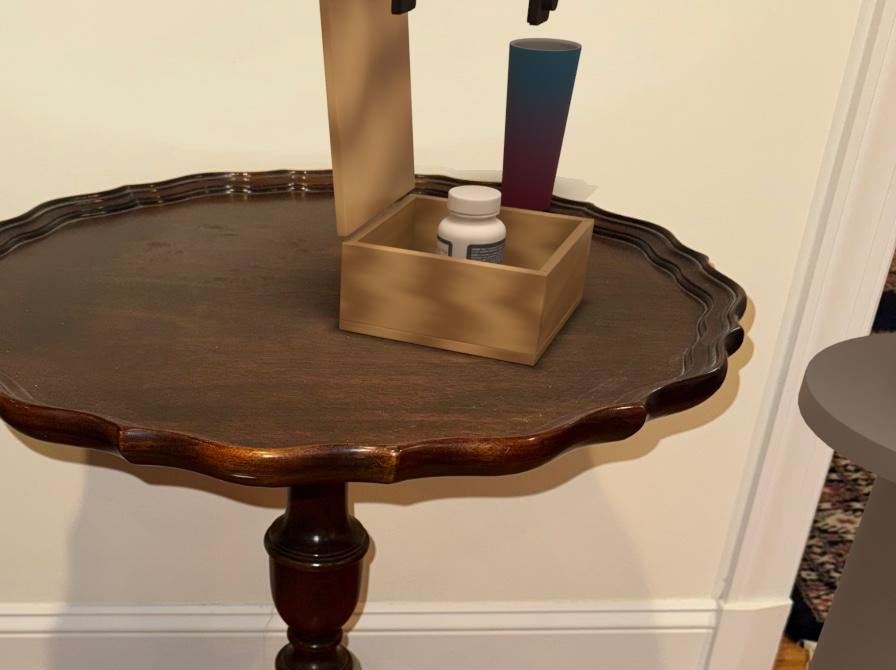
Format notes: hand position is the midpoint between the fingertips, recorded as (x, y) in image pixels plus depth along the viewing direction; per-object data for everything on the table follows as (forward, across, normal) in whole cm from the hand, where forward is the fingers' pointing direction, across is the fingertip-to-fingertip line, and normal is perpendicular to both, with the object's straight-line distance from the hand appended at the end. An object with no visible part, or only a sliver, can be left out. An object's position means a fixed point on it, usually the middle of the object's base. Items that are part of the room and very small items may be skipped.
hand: (469, 17), depth 77 cm
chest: (+22, -1, -2) cm, 22 cm away
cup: (+22, +3, -34) cm, 40 cm away
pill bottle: (+21, -1, -2) cm, 21 cm away
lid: (+6, +7, -2) cm, 10 cm away
